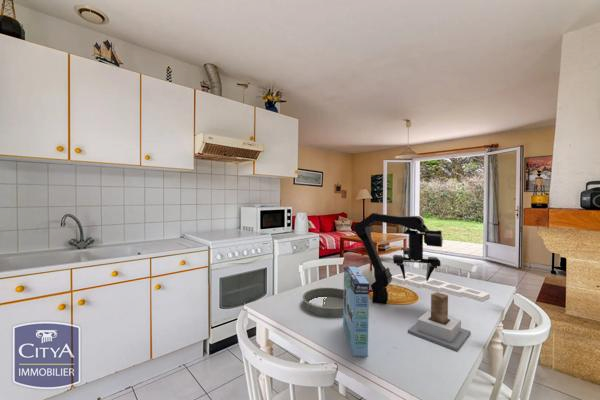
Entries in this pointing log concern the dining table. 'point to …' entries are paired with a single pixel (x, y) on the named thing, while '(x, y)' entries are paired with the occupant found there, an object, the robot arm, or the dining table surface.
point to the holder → (440, 286)
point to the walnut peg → (439, 308)
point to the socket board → (439, 341)
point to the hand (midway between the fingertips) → (415, 279)
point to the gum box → (356, 311)
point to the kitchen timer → (369, 276)
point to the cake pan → (326, 301)
